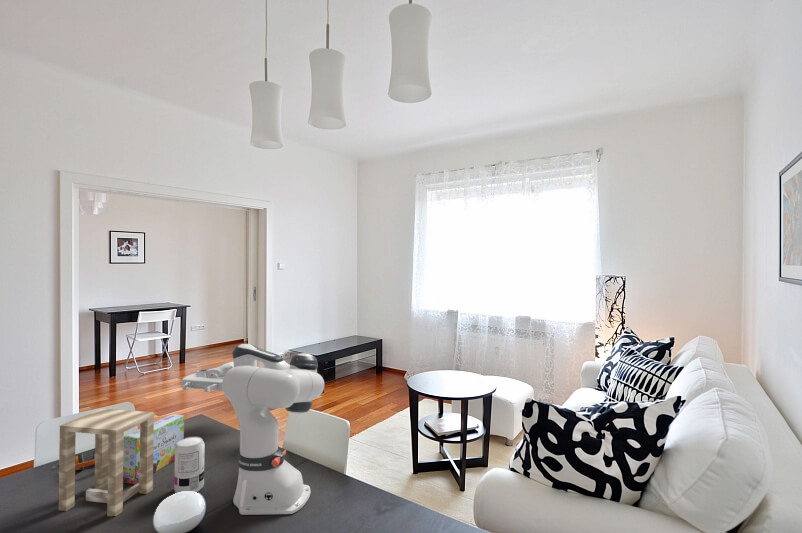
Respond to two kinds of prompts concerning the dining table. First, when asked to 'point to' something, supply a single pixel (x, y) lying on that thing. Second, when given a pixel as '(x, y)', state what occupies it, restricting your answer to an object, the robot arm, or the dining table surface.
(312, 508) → the dining table surface
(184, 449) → the supplement can
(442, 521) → the dining table surface
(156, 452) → the snack box
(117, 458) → the footstool
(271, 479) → the robot arm
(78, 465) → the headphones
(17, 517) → the dining table surface
